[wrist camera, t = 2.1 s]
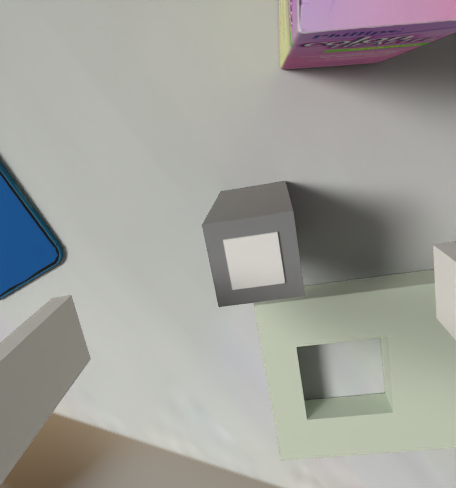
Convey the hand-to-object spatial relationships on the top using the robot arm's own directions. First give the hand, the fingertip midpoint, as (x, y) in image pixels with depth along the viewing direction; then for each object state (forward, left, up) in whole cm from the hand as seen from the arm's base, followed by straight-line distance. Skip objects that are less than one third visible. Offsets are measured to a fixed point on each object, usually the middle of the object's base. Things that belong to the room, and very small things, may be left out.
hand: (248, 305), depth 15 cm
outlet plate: (+11, +9, -12) cm, 18 cm away
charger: (0, 0, -12) cm, 12 cm away
